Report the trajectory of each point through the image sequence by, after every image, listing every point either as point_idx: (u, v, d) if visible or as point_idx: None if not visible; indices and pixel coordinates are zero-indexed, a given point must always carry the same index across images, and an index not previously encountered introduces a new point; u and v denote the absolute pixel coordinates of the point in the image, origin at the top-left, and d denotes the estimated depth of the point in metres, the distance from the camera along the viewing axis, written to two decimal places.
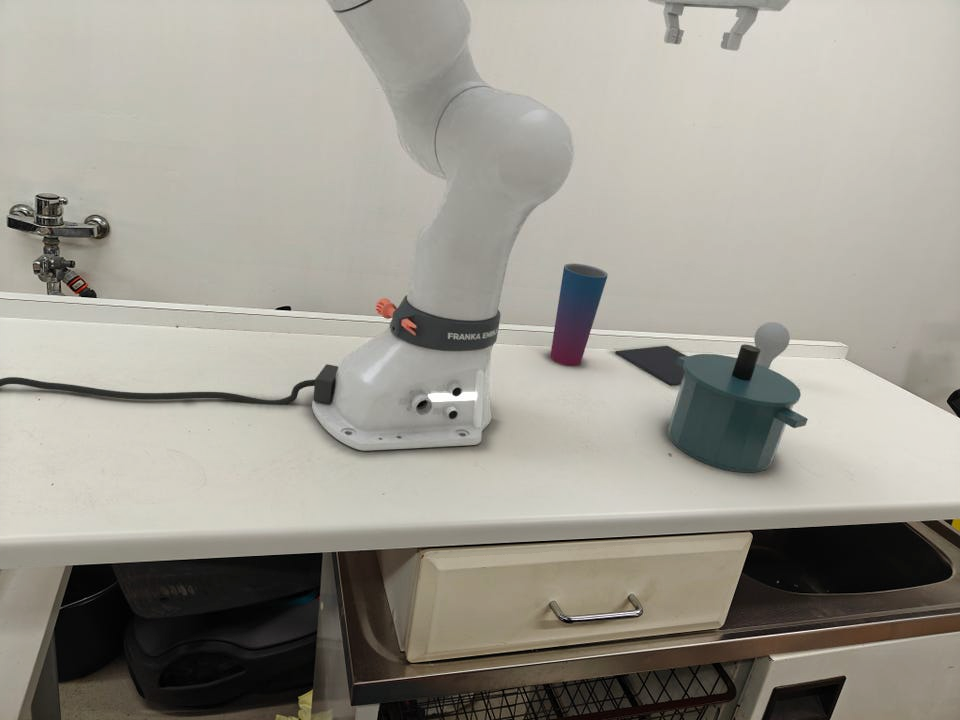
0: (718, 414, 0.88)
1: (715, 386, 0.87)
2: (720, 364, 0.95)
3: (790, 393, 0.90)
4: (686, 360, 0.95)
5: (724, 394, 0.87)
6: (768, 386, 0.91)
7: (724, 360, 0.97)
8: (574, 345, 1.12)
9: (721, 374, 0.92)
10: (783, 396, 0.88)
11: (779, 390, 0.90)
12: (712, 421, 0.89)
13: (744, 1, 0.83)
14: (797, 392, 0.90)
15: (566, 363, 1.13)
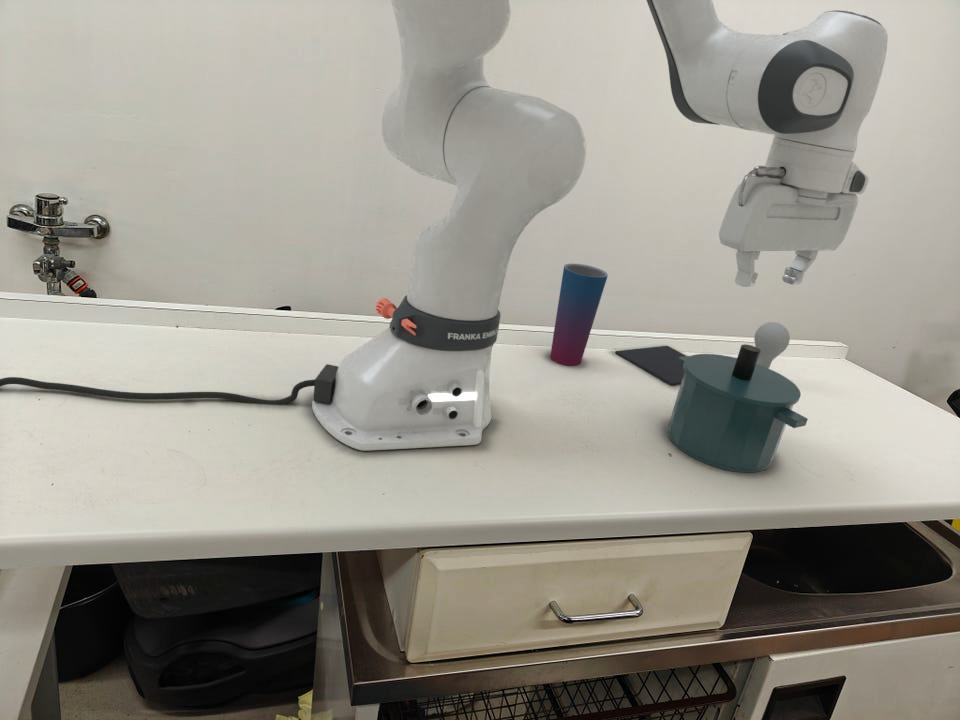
0: (718, 414, 0.88)
1: (715, 386, 0.87)
2: (720, 364, 0.95)
3: (790, 393, 0.90)
4: (686, 360, 0.95)
5: (724, 394, 0.87)
6: (768, 386, 0.91)
7: (724, 360, 0.97)
8: (574, 345, 1.12)
9: (721, 374, 0.92)
10: (783, 396, 0.88)
11: (779, 390, 0.90)
12: (712, 421, 0.89)
13: (824, 248, 0.89)
14: (797, 392, 0.90)
15: (566, 363, 1.13)
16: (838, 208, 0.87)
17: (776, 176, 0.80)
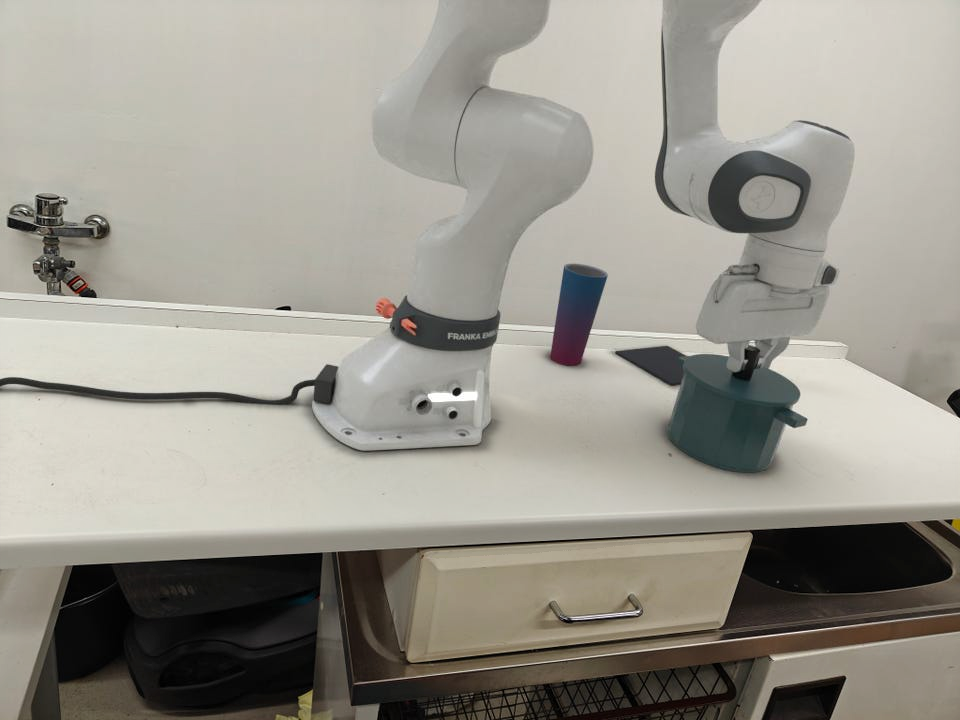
0: (718, 414, 0.88)
1: (714, 386, 0.87)
2: (720, 364, 0.95)
3: (790, 393, 0.90)
4: (686, 360, 0.94)
5: (724, 394, 0.87)
6: (768, 386, 0.91)
7: (724, 360, 0.97)
8: (574, 345, 1.12)
9: (721, 374, 0.92)
10: (783, 396, 0.88)
11: (778, 390, 0.90)
12: (712, 421, 0.89)
13: (798, 334, 0.92)
14: (797, 392, 0.90)
15: (566, 363, 1.13)
16: (811, 297, 0.91)
17: (750, 273, 0.84)
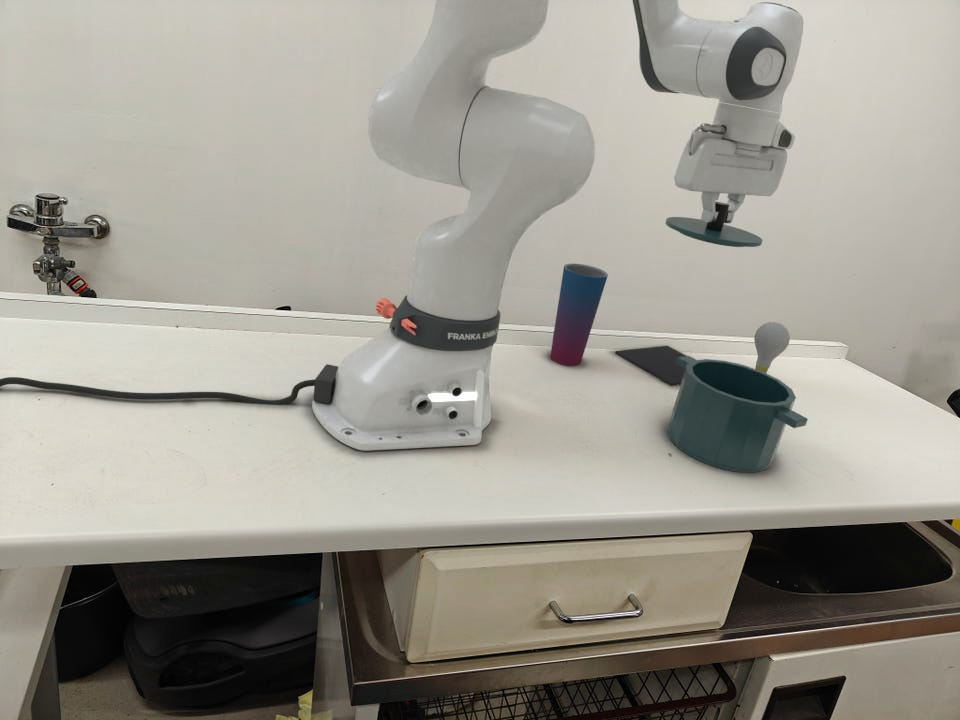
0: (718, 414, 0.88)
1: (690, 231, 1.06)
2: (697, 222, 1.14)
3: (753, 239, 1.08)
4: (668, 218, 1.13)
5: (698, 236, 1.05)
6: (736, 235, 1.09)
7: (700, 221, 1.15)
8: (574, 345, 1.12)
9: (696, 226, 1.10)
10: (747, 240, 1.07)
11: (744, 237, 1.08)
12: (712, 421, 0.89)
13: (761, 193, 1.11)
14: (759, 239, 1.09)
15: (566, 363, 1.13)
16: (771, 161, 1.09)
17: (718, 132, 1.02)
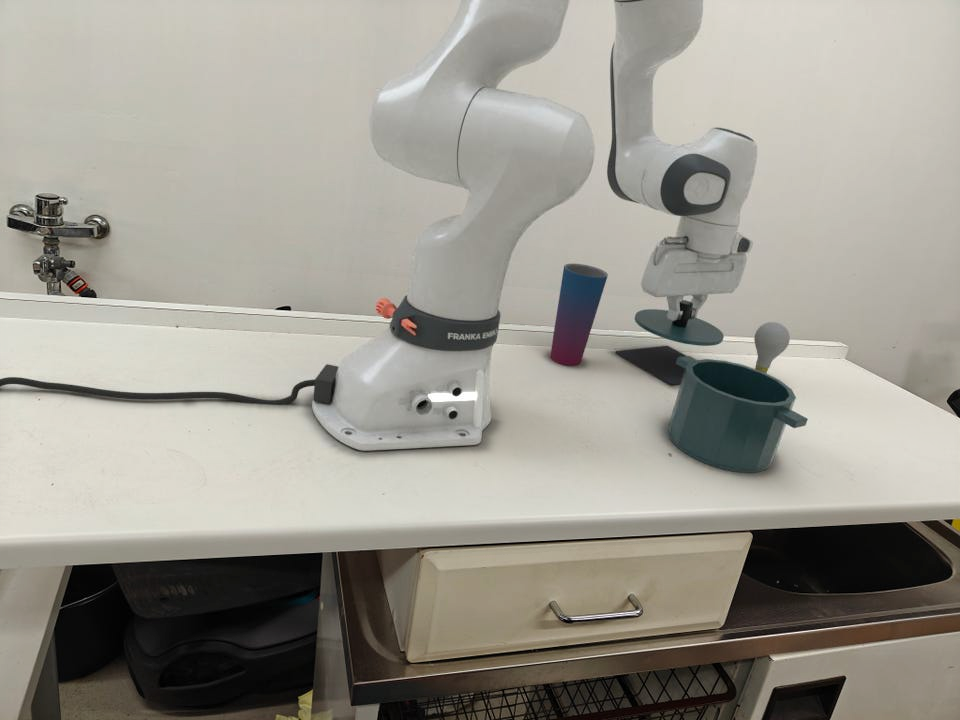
0: (718, 414, 0.88)
1: (656, 331, 1.14)
2: (664, 316, 1.22)
3: (715, 336, 1.16)
4: (637, 313, 1.21)
5: (663, 336, 1.13)
6: (699, 331, 1.17)
7: None
8: (574, 345, 1.12)
9: (663, 323, 1.19)
10: (709, 338, 1.15)
11: (706, 334, 1.17)
12: (712, 421, 0.89)
13: (723, 291, 1.19)
14: (721, 336, 1.17)
15: (566, 363, 1.13)
16: (732, 263, 1.18)
17: (681, 243, 1.10)
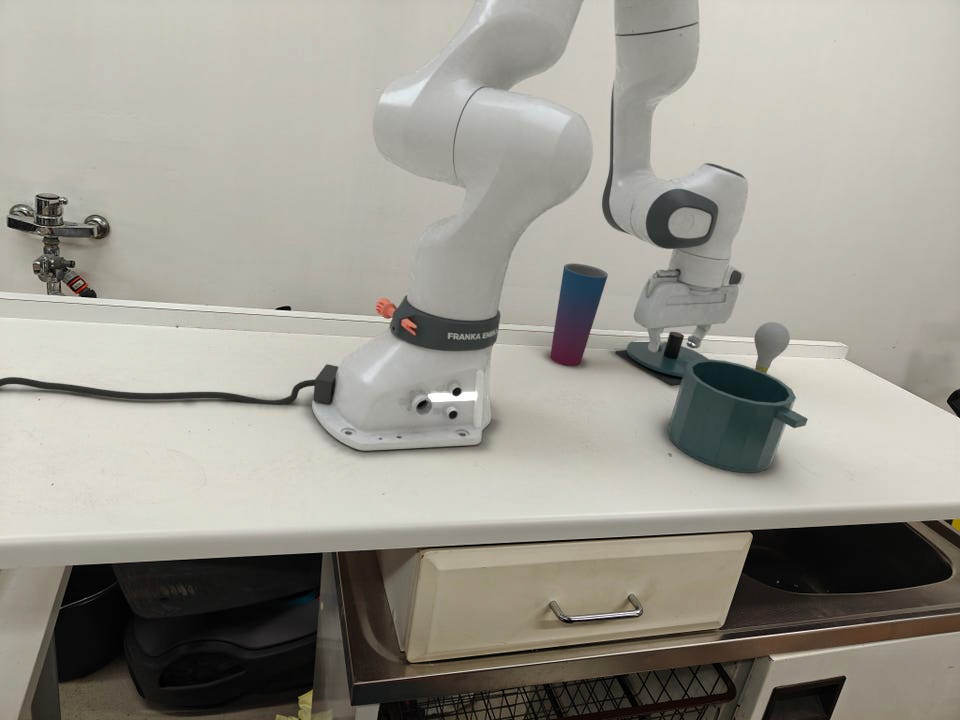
0: (718, 414, 0.88)
1: (647, 363, 1.16)
2: None
3: None
4: (629, 344, 1.23)
5: (654, 368, 1.15)
6: None
7: None
8: (574, 345, 1.12)
9: (654, 354, 1.21)
10: None
11: None
12: (712, 421, 0.89)
13: (715, 322, 1.21)
14: None
15: (566, 363, 1.13)
16: (724, 294, 1.19)
17: (673, 276, 1.12)
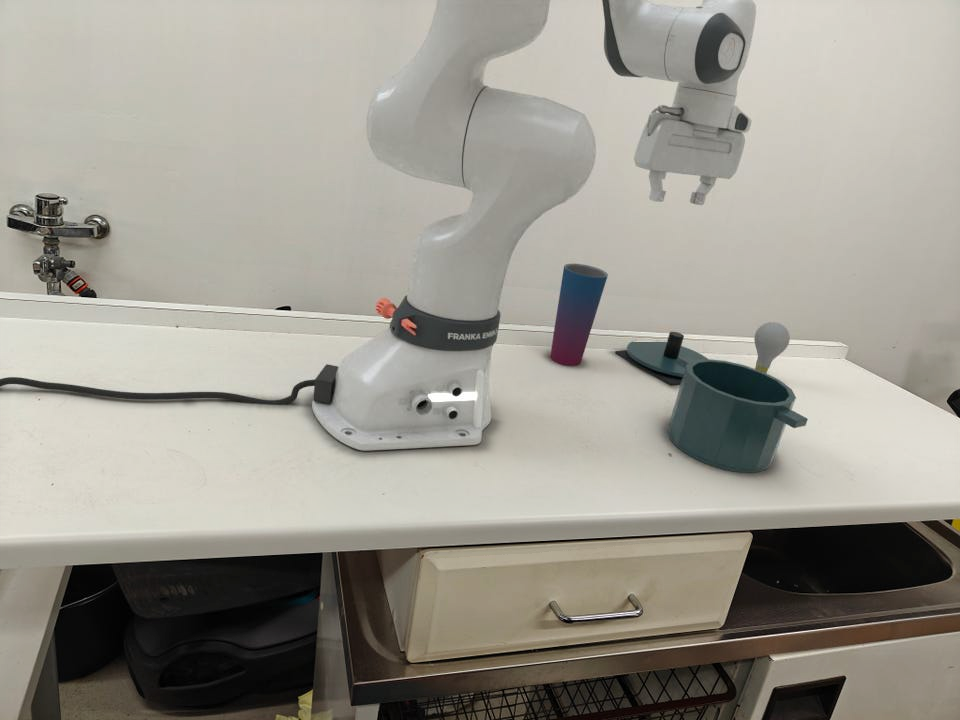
0: (718, 414, 0.88)
1: (647, 363, 1.16)
2: (656, 347, 1.24)
3: None
4: (629, 344, 1.23)
5: (654, 368, 1.15)
6: None
7: (659, 344, 1.26)
8: (574, 345, 1.12)
9: (654, 354, 1.21)
10: None
11: None
12: (712, 421, 0.89)
13: (720, 175, 1.15)
14: None
15: (566, 363, 1.13)
16: (730, 144, 1.13)
17: (676, 114, 1.06)
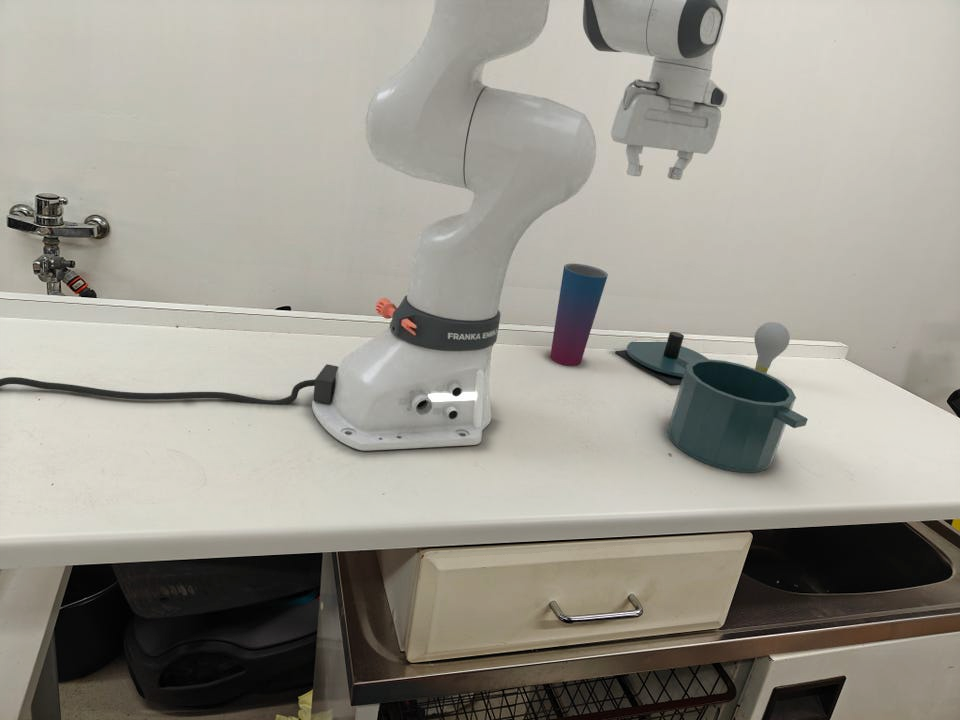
0: (718, 414, 0.88)
1: (647, 363, 1.16)
2: (656, 347, 1.24)
3: None
4: (629, 344, 1.23)
5: (654, 368, 1.15)
6: None
7: (659, 344, 1.26)
8: (574, 345, 1.12)
9: (654, 354, 1.21)
10: None
11: None
12: (712, 421, 0.89)
13: (697, 150, 1.16)
14: None
15: (566, 363, 1.13)
16: (706, 119, 1.15)
17: (652, 88, 1.07)
